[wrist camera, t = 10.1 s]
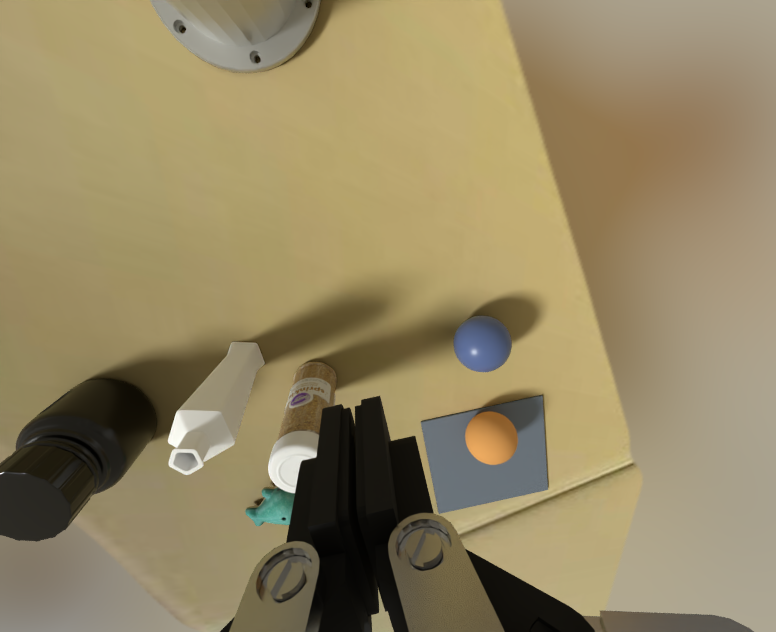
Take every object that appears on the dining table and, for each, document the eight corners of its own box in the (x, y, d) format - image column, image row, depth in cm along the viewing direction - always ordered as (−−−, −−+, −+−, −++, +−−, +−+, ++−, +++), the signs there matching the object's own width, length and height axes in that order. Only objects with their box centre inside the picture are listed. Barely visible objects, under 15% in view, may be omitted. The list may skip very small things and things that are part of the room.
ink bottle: (49, 379, 38) (-76, 465, 27) (141, 366, 39) (54, 446, 27) (88, 457, 42) (-9, 563, 30) (171, 445, 42) (106, 545, 31)
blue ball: (468, 384, 35) (455, 371, 41) (526, 370, 35) (505, 358, 41) (454, 326, 35) (443, 320, 40) (513, 311, 35) (494, 307, 40)
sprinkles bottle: (320, 352, 40) (305, 435, 27) (345, 384, 41) (343, 477, 29) (284, 374, 40) (253, 467, 28) (310, 405, 42) (292, 506, 29)
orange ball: (475, 461, 38) (472, 475, 43) (530, 450, 38) (521, 464, 43) (460, 409, 41) (458, 427, 46) (510, 398, 41) (503, 417, 46)
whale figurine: (318, 501, 47) (316, 528, 43) (265, 524, 47) (258, 553, 44) (294, 467, 45) (289, 493, 41) (238, 492, 45) (229, 519, 42)
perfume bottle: (261, 383, 40) (213, 496, 26) (218, 370, 39) (145, 480, 25) (275, 345, 39) (232, 443, 25) (231, 331, 38) (161, 424, 24)
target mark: (420, 421, 44) (421, 422, 44) (541, 395, 44) (542, 396, 44) (438, 512, 49) (439, 513, 49) (547, 488, 49) (547, 489, 49)
